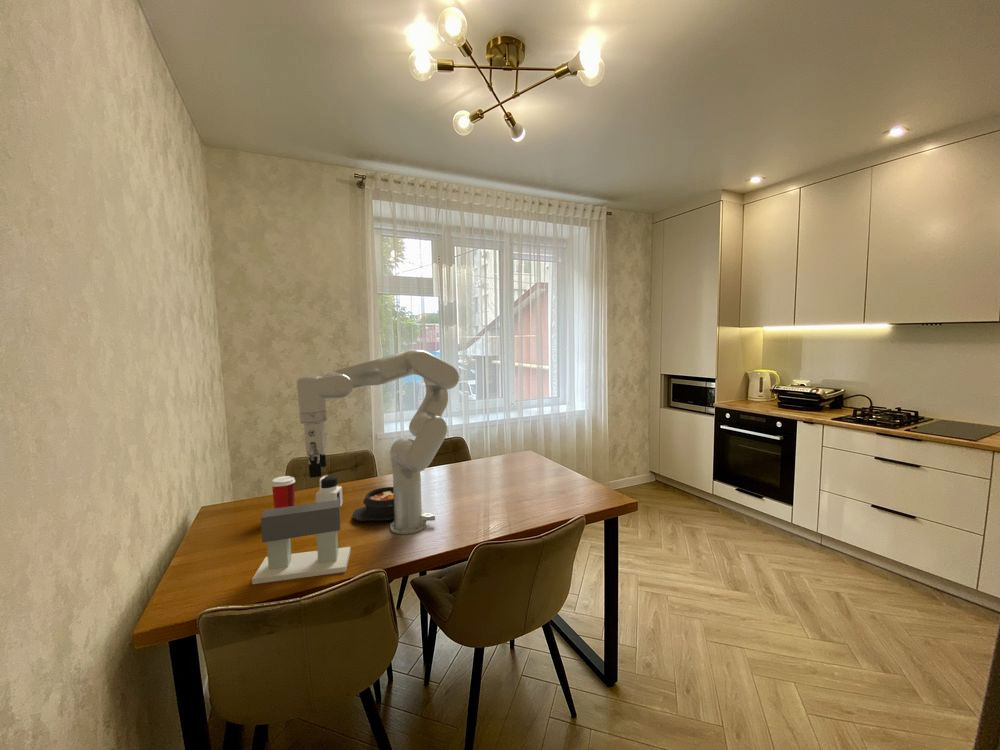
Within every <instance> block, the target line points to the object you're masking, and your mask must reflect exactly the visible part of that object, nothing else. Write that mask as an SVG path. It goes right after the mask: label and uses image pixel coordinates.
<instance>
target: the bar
mask: <svg viewBox="0 0 1000 750" xmlns="http://www.w3.org/2000/svg"><path fill="white" fill-rule="evenodd" d="M340 509H341V507H340V506H339V500H335V501H327V502H320V503H316V502H314V503H306V504H297V505H294V506H290V507H283V508H275V507H274V508H270V509H264V511H263V512H262V515H261V517H260V526H261V528H260V529H261V541H262V542H261V543H267V542H270V541H276V540H282V539H289V538H290V539H295V538H299V537H300V538H301V537H306V536H312V535H317V534H320V533H326V532H333V531H337V532H339V531H341V510H340Z"/></svg>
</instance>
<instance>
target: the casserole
mask: <svg viewBox="0 0 1000 750" xmlns="http://www.w3.org/2000/svg"><path fill="white" fill-rule="evenodd" d="M362 502H363V505H364V506H362V507H359V508H356V509H355V510H354V511H353V512H352V518H353V519H354V520H355V521H358V522H367V521H376V522H378V521H380V522H381V521H382V522H383V521H392V520H394V495H393V486H385V487H379V488H376V489H373V490H370V491H369V492H367V493H366V495H365V498H364V499H363V501H362Z"/></svg>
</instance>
